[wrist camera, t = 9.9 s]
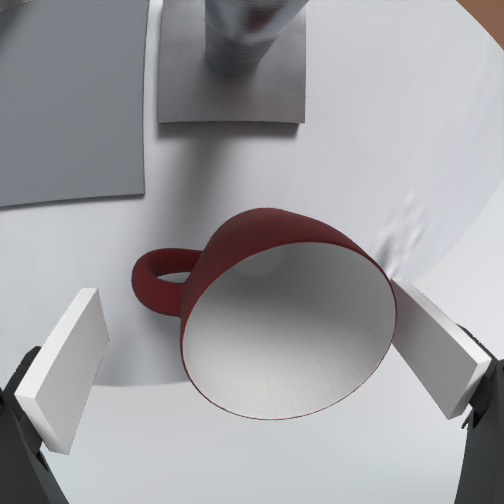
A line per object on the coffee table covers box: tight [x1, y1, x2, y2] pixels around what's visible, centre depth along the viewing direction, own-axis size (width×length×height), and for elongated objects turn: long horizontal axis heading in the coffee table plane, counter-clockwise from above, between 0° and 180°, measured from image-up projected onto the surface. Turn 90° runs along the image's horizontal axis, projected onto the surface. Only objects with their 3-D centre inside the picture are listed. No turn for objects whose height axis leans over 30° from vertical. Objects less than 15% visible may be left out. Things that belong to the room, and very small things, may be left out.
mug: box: [131, 208, 397, 420], centre depth 15 cm, size 11×8×10 cm
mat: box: [0, 0, 150, 207], centre depth 14 cm, size 14×14×1 cm
